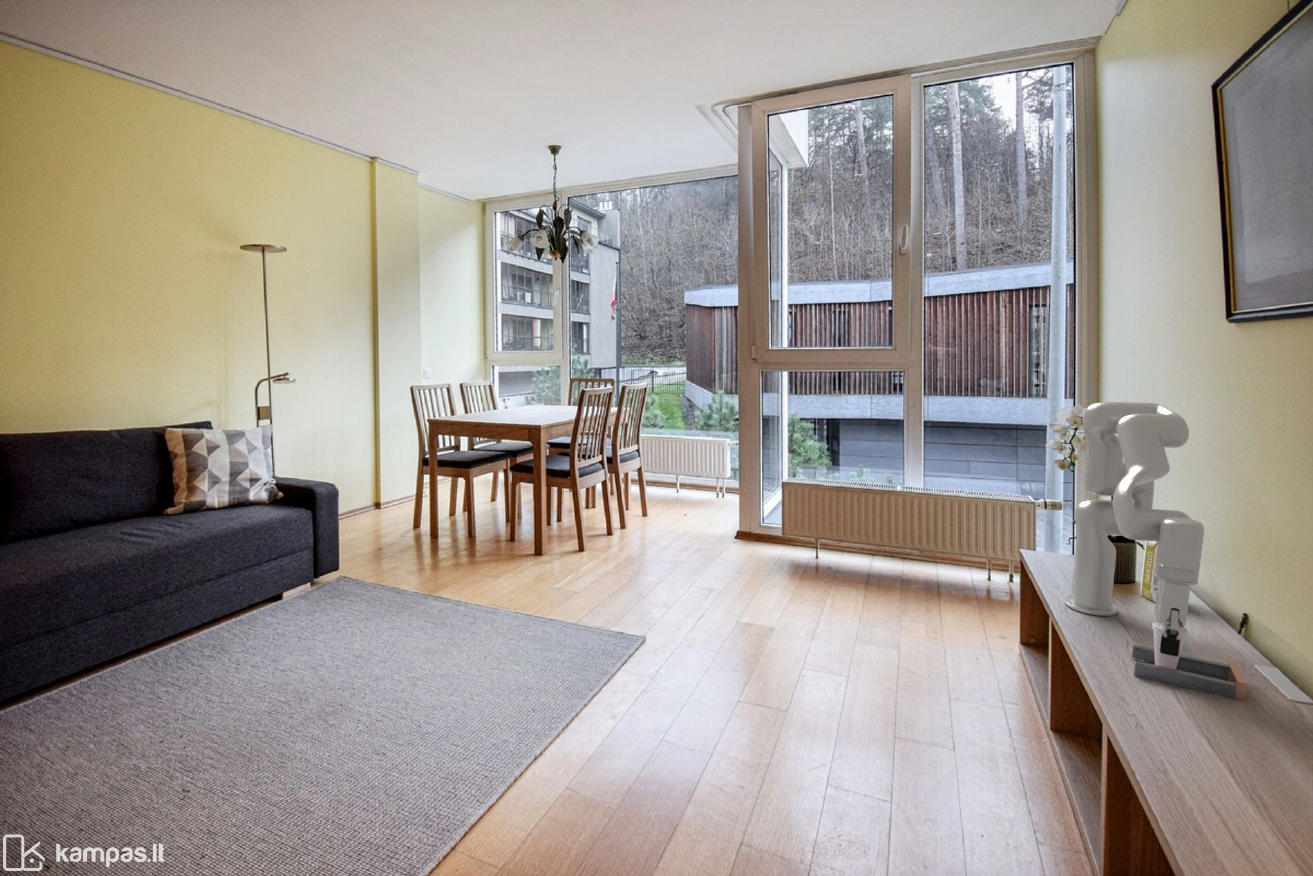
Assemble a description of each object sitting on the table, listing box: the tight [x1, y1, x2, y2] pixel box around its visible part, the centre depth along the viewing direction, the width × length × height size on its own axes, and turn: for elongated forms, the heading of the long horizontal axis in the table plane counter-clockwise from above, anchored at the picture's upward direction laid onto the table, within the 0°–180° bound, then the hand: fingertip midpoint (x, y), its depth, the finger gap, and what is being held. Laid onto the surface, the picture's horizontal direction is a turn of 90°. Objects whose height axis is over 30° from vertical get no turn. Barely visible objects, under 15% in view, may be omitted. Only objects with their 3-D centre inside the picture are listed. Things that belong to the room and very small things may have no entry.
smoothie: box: [1151, 611, 1189, 670], centre depth 143 cm, size 6×6×14 cm
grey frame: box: [1131, 644, 1248, 703], centre depth 142 cm, size 12×19×4 cm, turn 55°
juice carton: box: [1140, 541, 1159, 603], centre depth 187 cm, size 8×9×19 cm
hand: (1167, 648), depth 143 cm, fingers closed on smoothie, 6 cm apart
